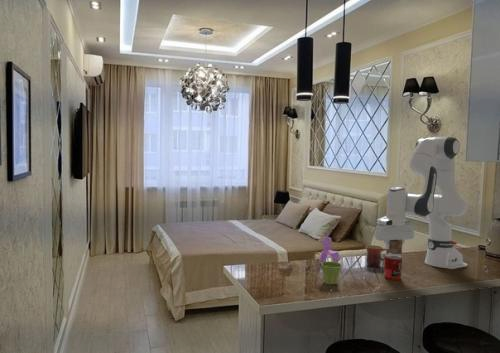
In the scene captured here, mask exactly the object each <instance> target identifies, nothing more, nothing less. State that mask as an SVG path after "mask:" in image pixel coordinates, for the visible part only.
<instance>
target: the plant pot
mask: <svg viewBox="0 0 500 353" xmlns="http://www.w3.org/2000/svg"><path fill="white" fill-rule="evenodd" d="M320 265H321V268H322V274H323V276H322V277H323V282H324V284H326V285H337V284H339V282H338V281H339V276H340V273H341V269H342V266H343V264H341V263H339V262H338V263H337V262H333V261H326V262H322V263H321V264H320Z"/></svg>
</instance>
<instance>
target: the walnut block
mask: <svg viewBox="0 0 500 353" xmlns="http://www.w3.org/2000/svg"><path fill="white" fill-rule="evenodd" d="M388 243H389V245H390V246H391V249H386V248H385V249H386V250H385V252H386V253H387V252H388V253H389V254H397V255H401V254H403V253H402V252H403V245H402V241H399V240H390V241H389V242H388Z"/></svg>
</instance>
